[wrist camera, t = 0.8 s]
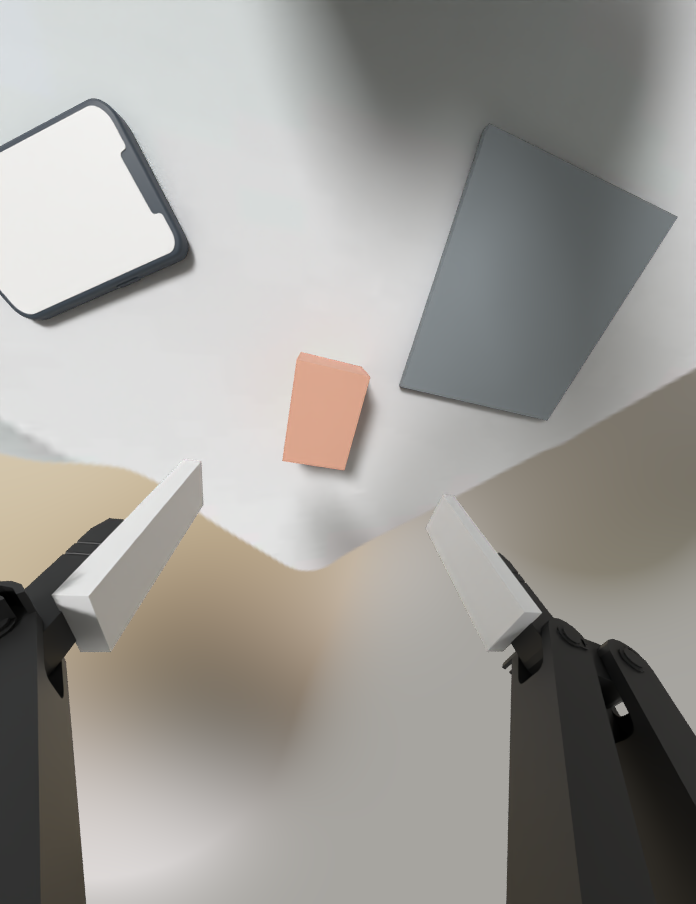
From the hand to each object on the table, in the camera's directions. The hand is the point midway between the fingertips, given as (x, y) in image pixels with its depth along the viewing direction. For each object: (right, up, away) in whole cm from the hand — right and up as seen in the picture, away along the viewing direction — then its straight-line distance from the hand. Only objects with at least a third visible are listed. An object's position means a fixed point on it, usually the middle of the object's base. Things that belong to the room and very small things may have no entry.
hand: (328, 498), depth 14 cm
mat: (+19, +17, +12) cm, 28 cm away
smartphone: (-21, +21, +6) cm, 30 cm away
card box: (-2, +8, +15) cm, 17 cm away
